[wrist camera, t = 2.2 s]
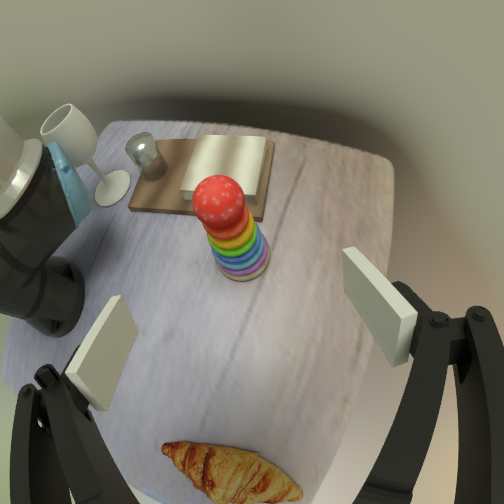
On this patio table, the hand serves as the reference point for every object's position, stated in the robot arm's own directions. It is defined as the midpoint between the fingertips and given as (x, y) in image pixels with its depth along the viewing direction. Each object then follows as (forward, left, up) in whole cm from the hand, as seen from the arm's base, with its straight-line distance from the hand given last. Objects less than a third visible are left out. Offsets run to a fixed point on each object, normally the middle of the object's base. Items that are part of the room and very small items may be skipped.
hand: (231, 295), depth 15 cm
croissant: (0, -22, -24) cm, 33 cm away
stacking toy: (-4, +10, -24) cm, 26 cm away
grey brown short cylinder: (-23, +24, -22) cm, 40 cm away
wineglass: (-33, +21, -23) cm, 46 cm away
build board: (-14, +24, -23) cm, 37 cm away
